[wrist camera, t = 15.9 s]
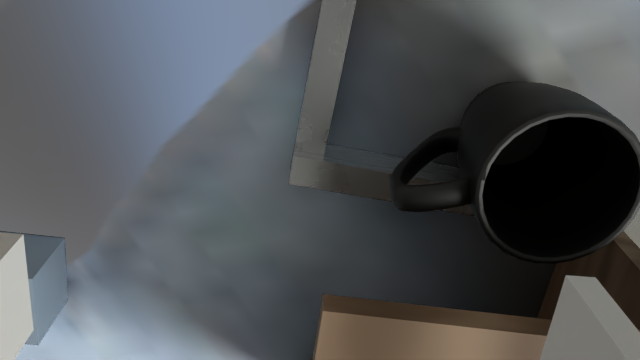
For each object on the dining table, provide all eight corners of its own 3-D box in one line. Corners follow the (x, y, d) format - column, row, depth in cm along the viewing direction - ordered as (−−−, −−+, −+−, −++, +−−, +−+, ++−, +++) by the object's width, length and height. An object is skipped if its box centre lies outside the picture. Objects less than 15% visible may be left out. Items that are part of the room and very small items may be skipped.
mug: (375, 69, 36) (392, 121, 27) (579, 54, 36) (662, 101, 27) (380, 194, 39) (396, 275, 31) (567, 181, 39) (637, 260, 30)
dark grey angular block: (277, 161, 38) (266, 231, 30) (356, -285, 29) (371, -361, 21) (472, 196, 39) (512, 272, 31) (611, -225, 30) (721, -274, 22)
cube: (-4, 291, 43) (-43, 337, 38) (-11, 229, 41) (-53, 270, 36) (68, 298, 43) (38, 345, 38) (64, 237, 41) (32, 279, 36)
